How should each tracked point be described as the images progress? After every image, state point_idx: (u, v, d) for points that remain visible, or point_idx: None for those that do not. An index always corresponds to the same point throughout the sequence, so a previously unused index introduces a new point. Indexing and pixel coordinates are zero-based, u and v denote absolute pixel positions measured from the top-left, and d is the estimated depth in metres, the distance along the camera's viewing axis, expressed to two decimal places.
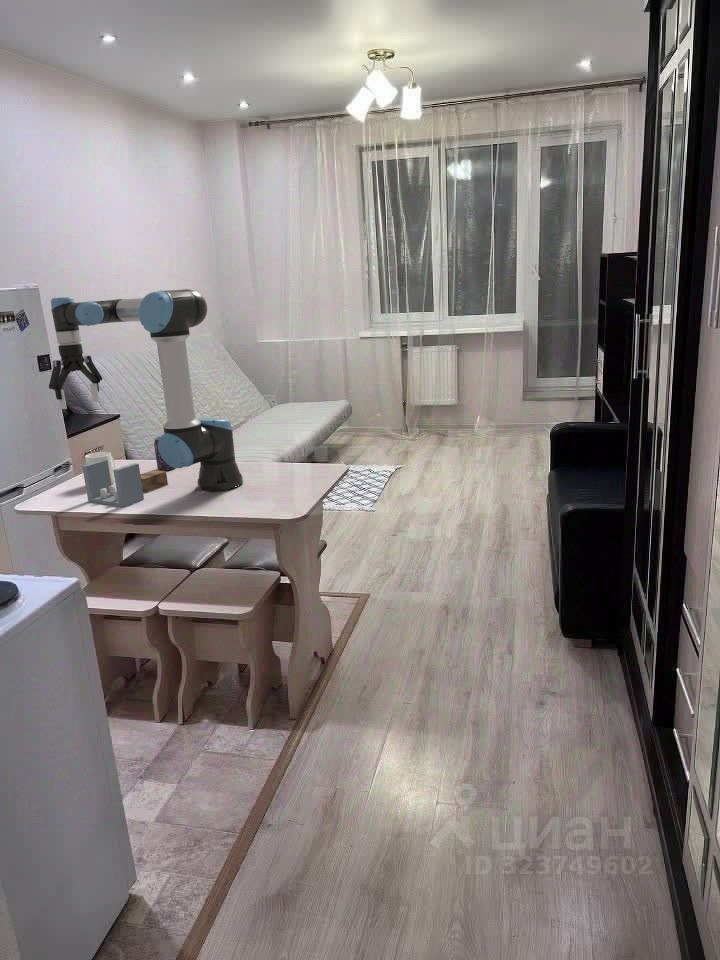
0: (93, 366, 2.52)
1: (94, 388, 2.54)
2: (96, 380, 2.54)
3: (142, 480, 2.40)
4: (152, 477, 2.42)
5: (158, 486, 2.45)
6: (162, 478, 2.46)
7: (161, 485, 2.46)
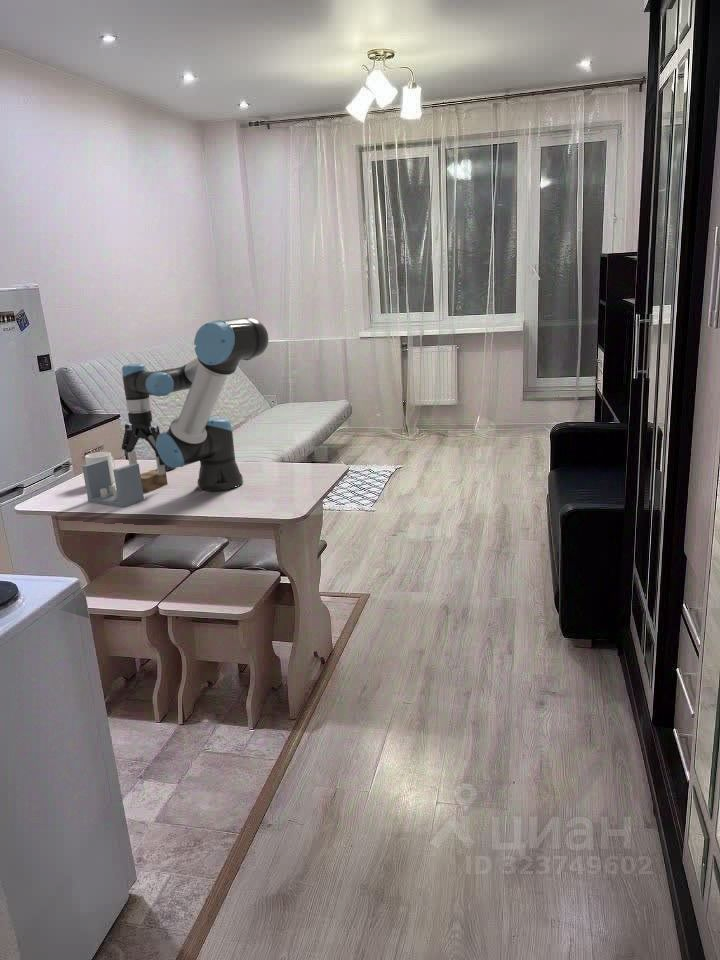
0: (155, 438, 2.36)
1: None
2: (157, 453, 2.38)
3: (143, 480, 2.39)
4: (153, 477, 2.42)
5: (158, 486, 2.45)
6: (162, 478, 2.46)
7: (161, 485, 2.46)
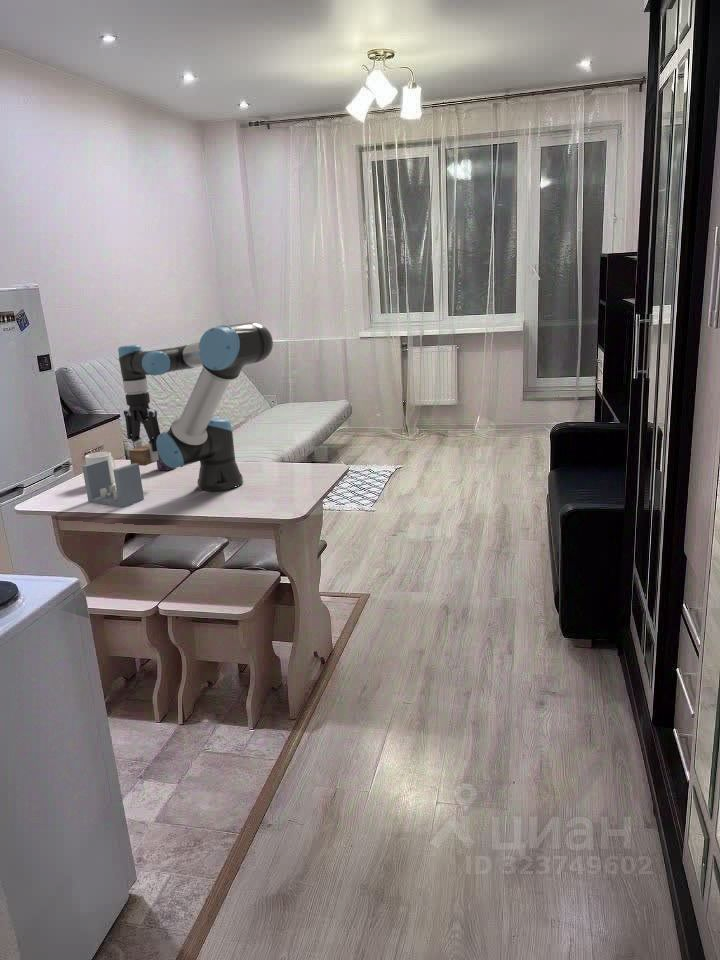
0: (151, 423, 2.35)
1: None
2: (150, 439, 2.38)
3: (140, 452, 2.37)
4: None
5: None
6: None
7: None
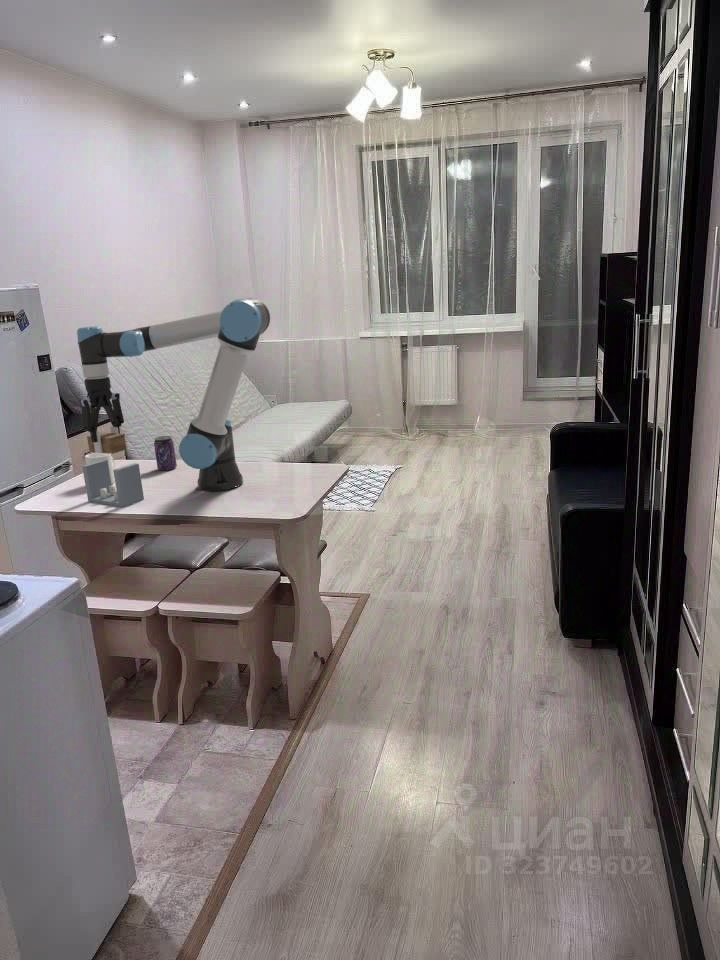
0: (119, 405, 2.30)
1: (115, 432, 2.30)
2: (117, 423, 2.30)
3: (122, 436, 2.28)
4: None
5: None
6: None
7: None
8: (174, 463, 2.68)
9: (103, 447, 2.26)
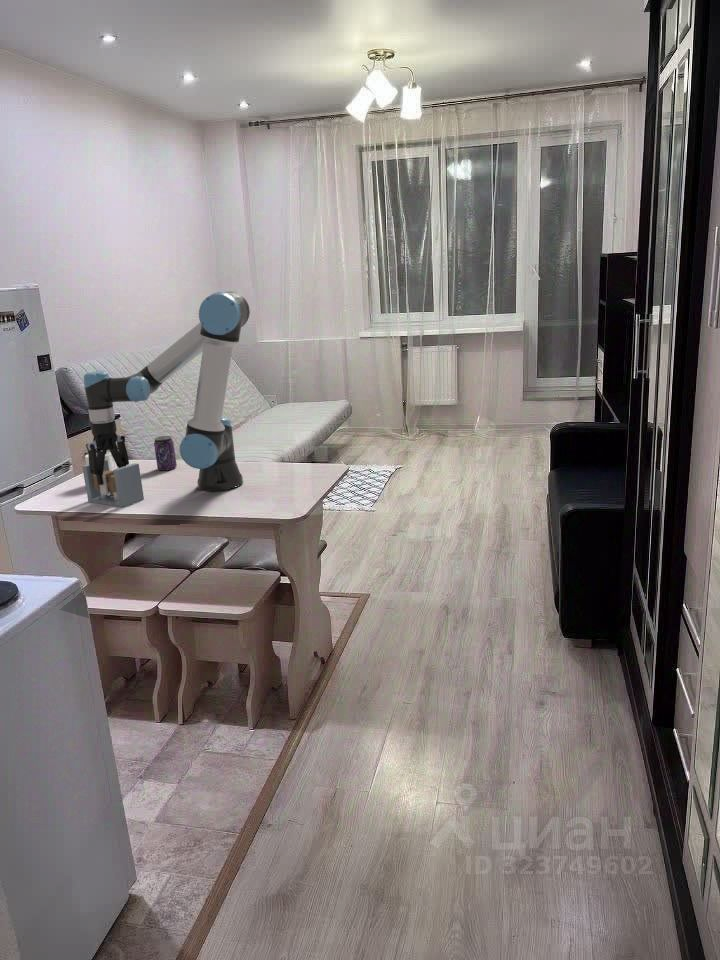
0: (124, 448, 2.33)
1: None
2: (123, 465, 2.34)
3: None
4: None
5: None
6: None
7: None
8: (174, 463, 2.68)
9: (109, 486, 2.29)
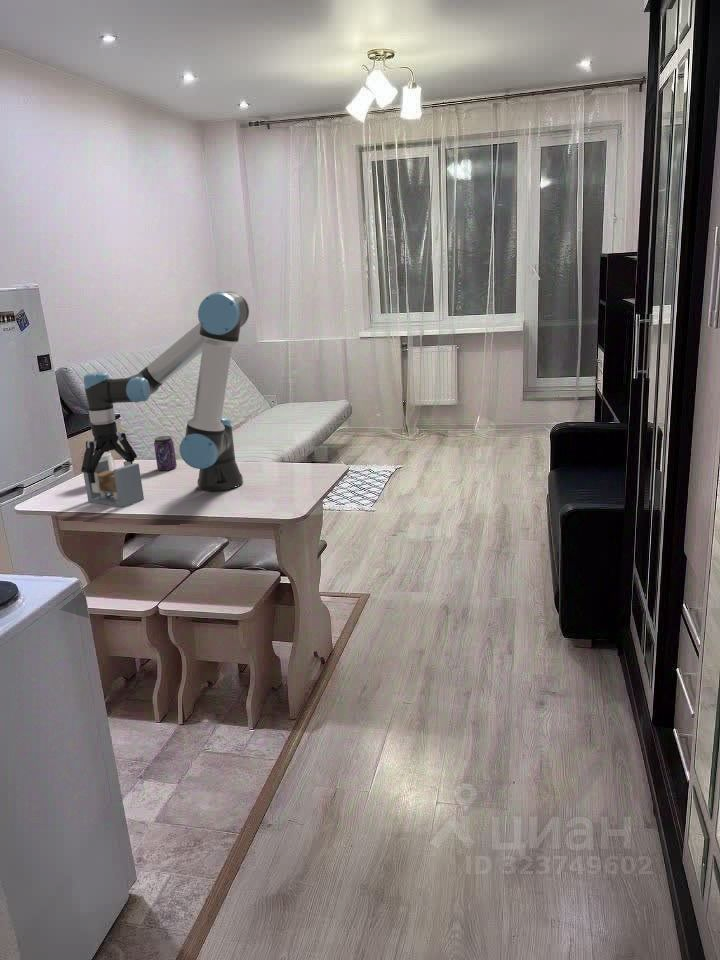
0: (127, 444, 2.34)
1: None
2: (130, 458, 2.36)
3: None
4: None
5: None
6: None
7: None
8: (174, 463, 2.68)
9: (109, 486, 2.29)
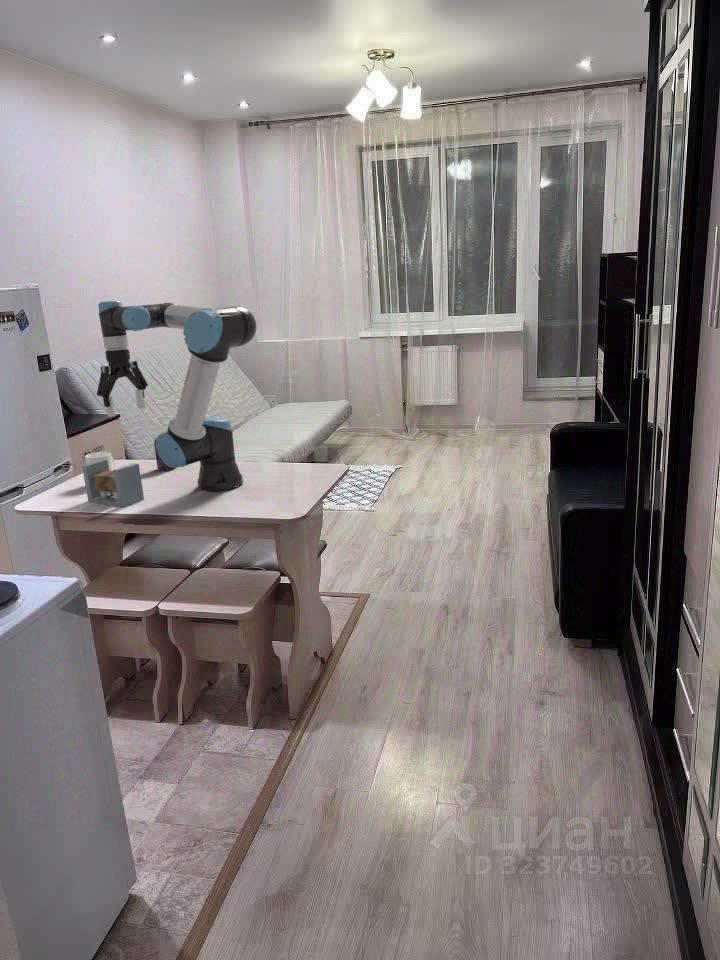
0: (139, 372, 2.44)
1: (140, 394, 2.46)
2: (142, 386, 2.46)
3: None
4: None
5: None
6: None
7: None
8: None
9: (109, 486, 2.29)
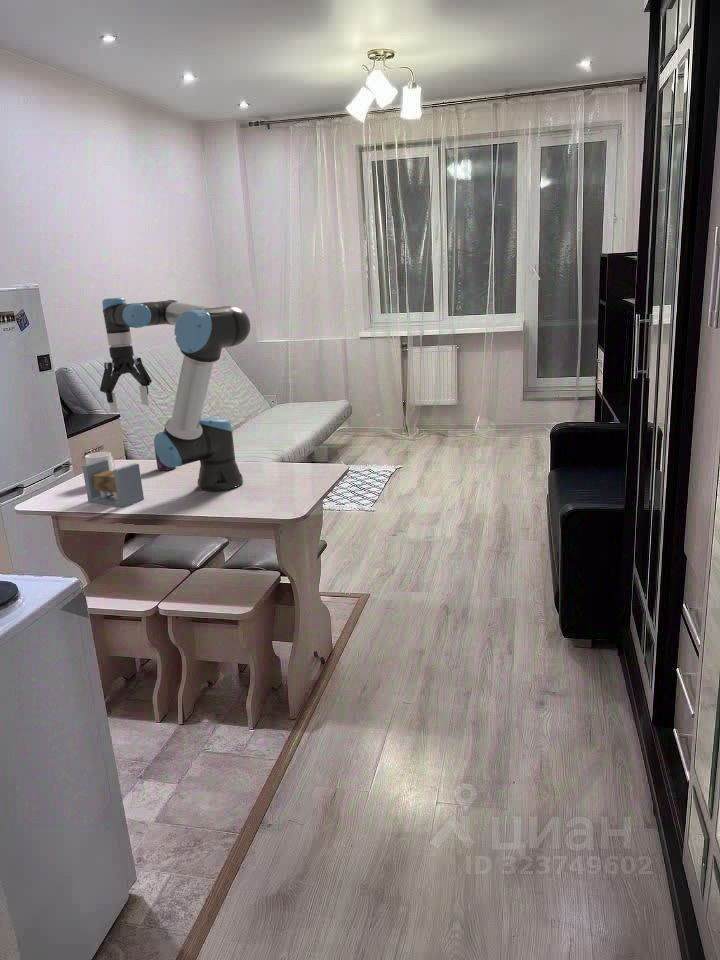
0: (143, 368, 2.47)
1: (144, 391, 2.49)
2: (146, 383, 2.48)
3: None
4: None
5: None
6: None
7: None
8: None
9: (109, 486, 2.29)
